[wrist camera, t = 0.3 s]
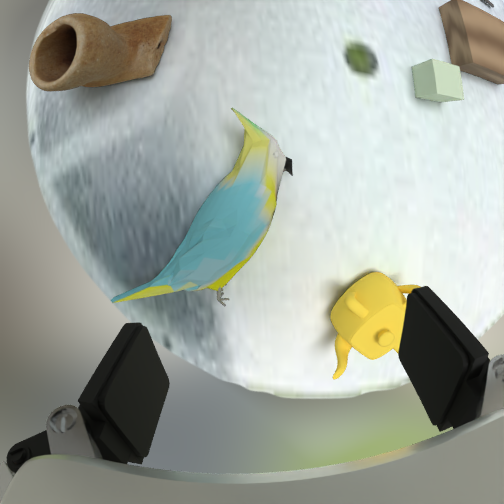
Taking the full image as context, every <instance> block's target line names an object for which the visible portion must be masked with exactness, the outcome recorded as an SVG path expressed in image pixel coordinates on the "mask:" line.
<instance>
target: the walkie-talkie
mask: <svg viewBox="0 0 504 504" xmlns="http://www.w3.org/2000/svg"><path fill="white" fill-rule="evenodd" d="M484 1H485V2H486V3H488V4H489V5H490V6H491V7H494V5H493V4H492V3H491V2H490V1H489V0H484Z"/></svg>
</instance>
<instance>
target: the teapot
mask: <svg viewBox="0 0 504 504" xmlns="http://www.w3.org/2000/svg"><path fill="white" fill-rule="evenodd" d="M419 287H420V286H418V285H402V286H397V285H396V284H395V283H394V282H393V281H392V280H391V279H389V278H388V277H387V276H386V275H384V274H383V273H380V272H372V273H370V274H368V275H366V276H364V277H363V278H361V279H360V280H358V281H357V282H356V283H354V284H353V285H352V286H351V287H350V288H348V289H347V290H346V292H345V293H344V294H343V295H342V296H341V297H340V299H339V300H338V301H337V302H336V304H335V305H334V307H333V309H332V312H331V322H332V324H333V326H334V328H335V329H336V331H337V332H338V335H337V337H336V340H335V351H336V355H337V360H338V365H337V369H336V371H335V373H334V375H333V379H337V378H338V377H340V376H341V375H342V374H343V372H344V371H345V369H346V366H347V360H348V353H349V351H350V349H351V348H352V347H353V348H354V349H356V350H357V351H358V352H360V353H361V354H362V355H364V356H365V357H367V358H369V359H371V360H374V359H377V358H379V357H381V356H383V355H384V354H386V353H387V352H389V351H390V350H392V349H394V350H395V351H396V352H397V353H398V351H399V346H400V340H401V335H402V329H403V323H404V317H405V310H406V302H407V300H406V298H405V297H404V295H403V293H409V294H410V293H411V291H412V290H413V289H414V288H419Z"/></svg>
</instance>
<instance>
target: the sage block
mask: <svg viewBox="0 0 504 504" xmlns="http://www.w3.org/2000/svg"><path fill="white" fill-rule="evenodd" d="M412 72H413V79H414V87H415V96H416V98H420V99H426V100H432V101H437V102H448V101H457V100H464V95H463V87H462V80H461V73H460V67H459V66H456V65H453V64H450V63H446V62H443V61H439V60H435V59H430V60H428V61H425V62H422V63H420V64H417V65H415V66H412Z"/></svg>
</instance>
